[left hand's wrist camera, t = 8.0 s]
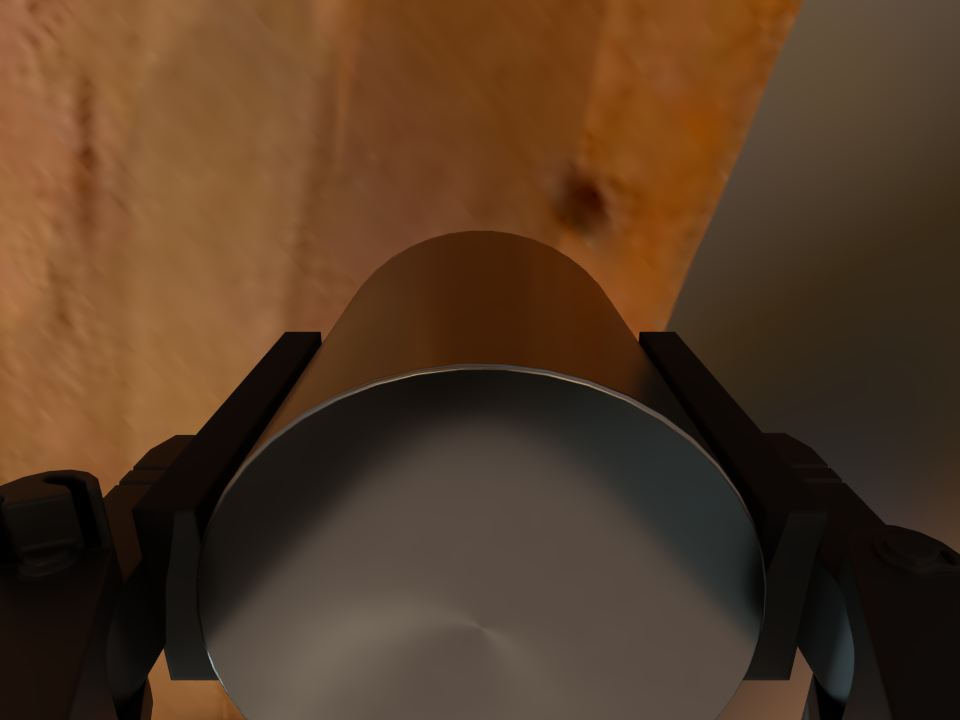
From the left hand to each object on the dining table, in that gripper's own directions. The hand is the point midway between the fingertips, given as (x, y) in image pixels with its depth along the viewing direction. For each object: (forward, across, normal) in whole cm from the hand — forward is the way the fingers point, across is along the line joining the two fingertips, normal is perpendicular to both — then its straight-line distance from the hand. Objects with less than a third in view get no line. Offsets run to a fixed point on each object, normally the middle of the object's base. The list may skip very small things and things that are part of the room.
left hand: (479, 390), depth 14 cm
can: (+1, 0, 0) cm, 1 cm away
